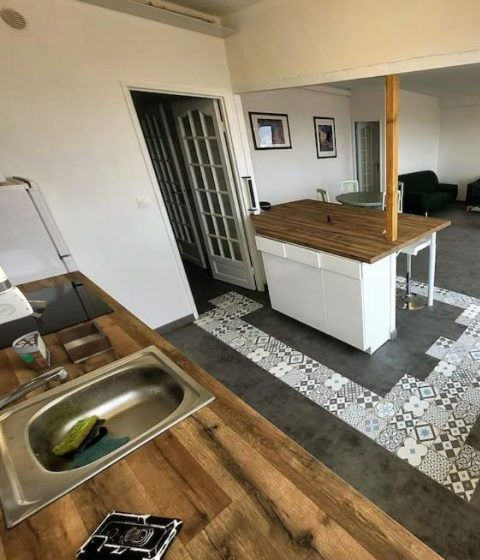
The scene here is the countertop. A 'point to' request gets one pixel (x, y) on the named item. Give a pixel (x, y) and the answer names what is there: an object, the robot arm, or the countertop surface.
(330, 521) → the countertop surface
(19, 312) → the robot arm
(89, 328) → the open brown box
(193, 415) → the countertop surface
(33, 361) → the food container
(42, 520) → the countertop surface
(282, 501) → the countertop surface
